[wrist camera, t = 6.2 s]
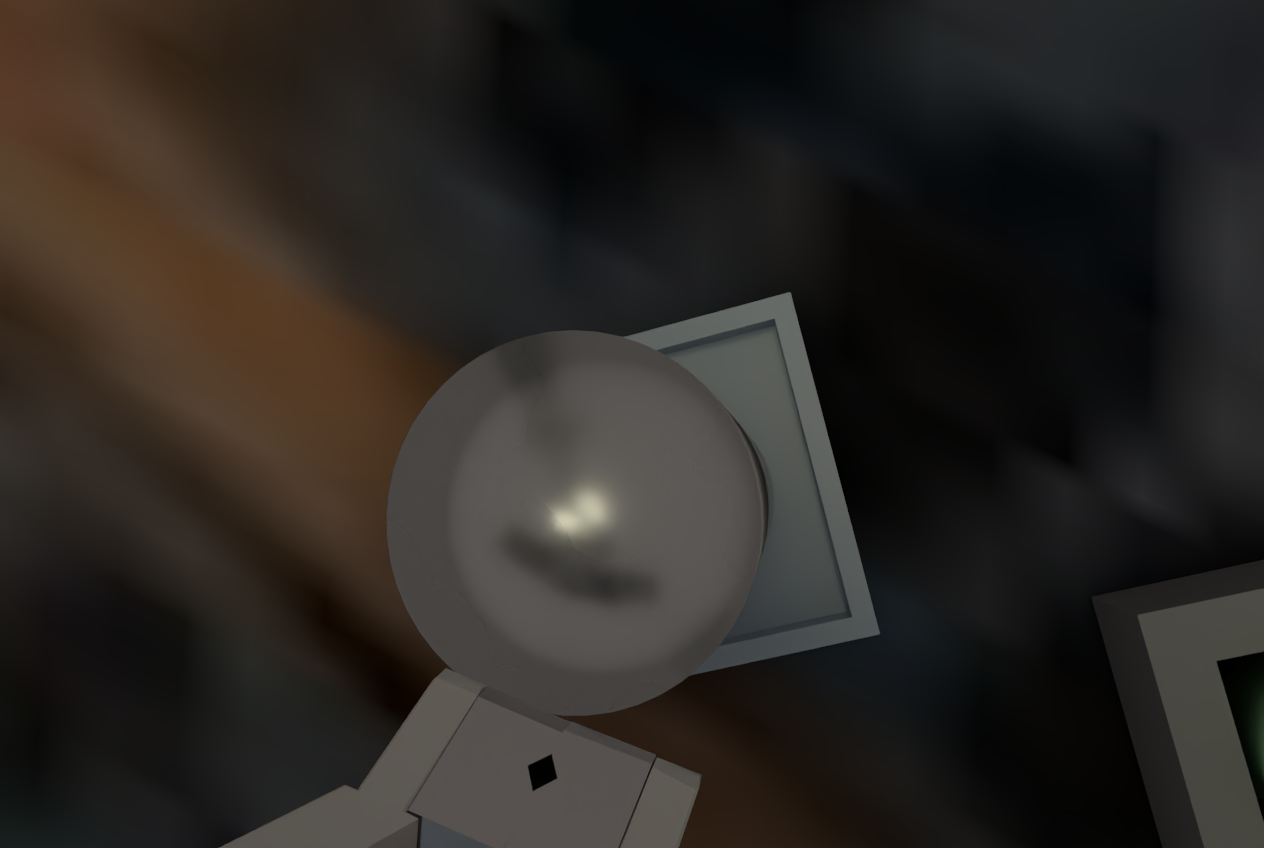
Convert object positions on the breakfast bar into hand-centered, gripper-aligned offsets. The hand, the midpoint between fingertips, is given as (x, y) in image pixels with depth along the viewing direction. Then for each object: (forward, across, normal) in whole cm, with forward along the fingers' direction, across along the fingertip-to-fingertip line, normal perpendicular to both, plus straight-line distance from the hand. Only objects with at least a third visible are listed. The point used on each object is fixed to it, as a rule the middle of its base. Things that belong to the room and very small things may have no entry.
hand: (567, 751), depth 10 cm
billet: (+12, +1, +6) cm, 13 cm away
